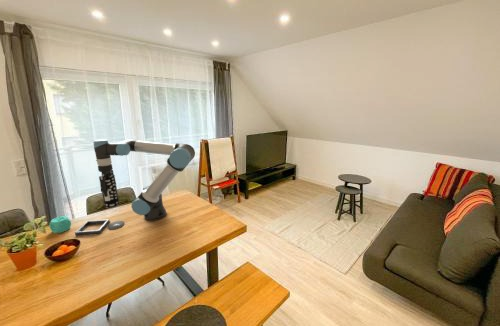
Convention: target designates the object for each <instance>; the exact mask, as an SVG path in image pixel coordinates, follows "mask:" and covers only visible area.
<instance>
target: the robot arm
mask: <svg viewBox="0 0 500 326" xmlns="http://www.w3.org/2000/svg"><path fill="white" fill-rule="evenodd" d="M93 149H94V154H95V159H96V160H95V161H96V164H97V169H98V170H97V171H98V172H100V173H101V175H100V176H99V177H98V179H100V180H99V186H100V192H101V193H102V192H103V193H104V198H105V201H110V196H109V191H108V186H107V183H105V178H108V177H109V176H111V174H113V175H115V174H114V169H113V164H112V158H111V156H120V157H122V156H128V155H129V154H130V152H135V153H143V154H144V153H146V154H155V155H164V156H168V158H167V159H166V165H165V166H164V167H163V168H162V170H161V171H160V172H159V173H158V175H157V176H156V177H155V178H154V180H153V181H152V182H151V184H150V185H146V186H144V187H143V189H142V191H141V192H140V193H139V195H138V196H137V197H136V198H135V199H134V200H132V203H131V209H132V211H133V212H134V213H135V214H137V215H139V216H143V218H144V220H145V221H151V222H153V221H158V220H161V219H163V218H164V217H166V215H167V210H166V207H165V205H164V204H163V196H162V195H163V194H162V193H163V192H164V191H165V189H166V188H167V187H168V186H169V184H170V183H171V182H172V181H173V180H174V178H175V177H176V176H177V175H178V173H180V172H183V171H184V170H185V169H186V168H187V166H188V165H190V163H191V161H193V159H194V158H195V157H196V156H195V155H196V151H195V148H194V147H193V146H192V145H190V144H188V143H187V144H186V143H178V142H177V143H174V144H172V143H164V142H163V143H162V142H154V141H144V140H136V139H134V138H129V139H126V140H123V141H119V142H115V143H114V142H112V143H111V142H110V143H109V141H108V139H95V140H93Z"/></svg>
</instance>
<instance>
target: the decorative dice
mask: <svg viewBox="0 0 500 326" xmlns="http://www.w3.org/2000/svg"><path fill="white" fill-rule="evenodd" d="M48 227H49V229H50V230H51V232H53V234H62V233H64V231H65V232H66V231H67V232H68V230H70V228H71V227H72V222H71V219H70V218H69V217H68V216H66V215H65V216H64V215H61V216H57V217H54V218H52V219H51V220H50V222H49V226H48ZM61 232H62V233H61Z"/></svg>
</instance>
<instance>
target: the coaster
mask: <svg viewBox="0 0 500 326" xmlns="http://www.w3.org/2000/svg"><path fill="white" fill-rule="evenodd" d="M125 225H126V224H125V221H123V220H116V221H113V222H110V223H109V224H108V225H107V226H106V228H107V229H108V230H109V231H110V230H112V231H113V230H114V231H115V230H118V229H120V228H123V226H125Z"/></svg>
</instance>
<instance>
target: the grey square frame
mask: <svg viewBox="0 0 500 326" xmlns="http://www.w3.org/2000/svg"><path fill="white" fill-rule="evenodd" d="M109 224H111V221H110V219H109V218H107V219H95V220H94V219H93V220H86V221H85V222H84V223H83V224H82V225H80V227H79V228H78V229H77V230H75V232H74V234H75V237H78V236H80V237H81V236H92V235H101V234H102V232H103V231H104V230H105V229H106V228H107V226H108V225H109ZM90 225H91V226H92V225H101V226H100V228H98V229H94V230H93V229H91V230H85V229H86V228H87V227H88V226H90Z"/></svg>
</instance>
